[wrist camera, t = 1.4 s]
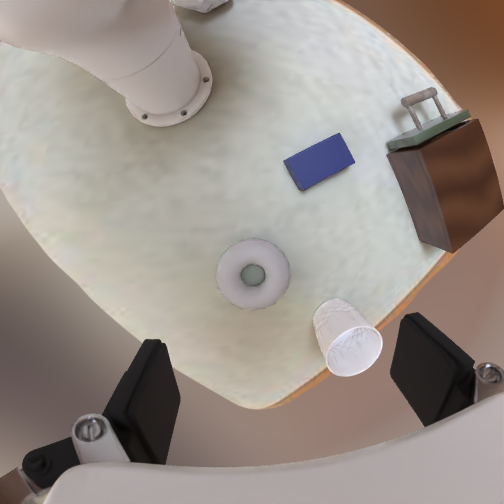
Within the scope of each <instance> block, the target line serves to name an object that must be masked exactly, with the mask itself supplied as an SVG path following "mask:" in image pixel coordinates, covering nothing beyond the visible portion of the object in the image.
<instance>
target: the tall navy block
mask: <svg viewBox="0 0 504 504" xmlns="http://www.w3.org/2000/svg"><path fill="white" fill-rule="evenodd" d="M283 162H284V163H285V165H286V167H287V169H288V171H289V172H290V174H291V176H292V178H293V180H294V181H295V183H296V185H297V187H298V189H299V190H305V189H307V188H309V187H311V186H312V185H314V184H316V183H318V182H320V181H322V180H324V179H325V178H327V177H329V176H331V175H333V174H335V173H337V172H339V171H340V170H342V169H344V168H346V167H348V166H350V165H352V164H354V163H355V161H354V159H353V157H352V155H351V153H350V151H349V149H348V147H347V145H346V144H345V142H344V140H343V138H342V136H341V134H340V133H338V134H336V135H333V136H331V137H329V138H327V139H325V140H323V141H321V142H319V143H317V144H315V145H313V146H311V147H309V148H307V149H305V150H303V151H301V152H299V153H297V154H295V155H294V156H292V157H290V158H288V159H286V160H284V161H283Z"/></svg>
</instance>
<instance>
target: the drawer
mask: <svg viewBox="0 0 504 504" xmlns="http://www.w3.org/2000/svg"><path fill="white" fill-rule="evenodd" d="M436 95H437V91H436V89H435V88H433V87H431V88H428V89H426V90H423V91H420V92H417V93H415V94H412V95H410V96H407V97H404V98H402V99H401V103H402V105H403V106H404V107H407V109H408V111H409V113H410V115H411V117H412V119H413V121H414V123H415V125H416V127H417V128H415V129H413V130H411V131H409V132H407V133H405V134H403V135H401V136H398V137H396V138H394V139H392V140H390V141H388V142H387V143H388V145H389V147H390V149H396V148H402V147H408V146H414V145H418V144H420V143H422V142H424V141H425V140H427V139H429V138H431V137H433V136H435V135H437V134H439V133H441V132H443V131H445V130H447V129H448V128H450V127H452V126H454V125H456V124H458V123H460V122H462V121H464V120H466V119H468V118H470V117H471V116H470V113H469V111H468V110H464V111H459V112H455V113H451V114H447V115H446V114H445V112H444V110H443V108H442V106H441V104H440V102H439V100H438V98H437V96H436ZM429 98H433V100H434V102H435V104H436V106H437V108H438V110H439V112H440V114H441V116H440V117H438V118H436V119H434V120H432V121H430V122H427V123H425V124H423V125H421V124H420V122H419V120H418V118H417V116H416V114H415V112H414V110H413V108H412V105H414V104H417V103H419V102H422V101H424V100H427V99H429ZM451 131H453V130H451ZM451 131H446V132H444V133H442V134H440V135H439V136H437V137H435V138H433V139H431V140H429V141H427V142H425V143H423V144H421V145H420V146H418V147H416V148H414V149H417V148H421V147H423V146H425V145H427V144H429V143H431V142H432V141H434V140H436V139H438V138H440V137H442V136H444V135H445V134H447V133H449V132H451Z"/></svg>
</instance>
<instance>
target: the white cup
mask: <svg viewBox="0 0 504 504" xmlns="http://www.w3.org/2000/svg"><path fill="white" fill-rule="evenodd" d="M313 325H314V329H315V332H316V336H317V339H318V342H319V346H320V348H321V351H322V354H323V356H324V359H325V362H326V365H327V367H328V369H329V370H330V371H331V372H332V373H334V374H335V375H338V376H353V375H356V374H359V373H361V372H363V371H365V370H366V369H368V368H369V367H370V366H371V365H372V364H373V363H374V362H375V361H376V360H377V358H378V357H379V355H380V352H381V350H382V344H383V342H382V337H381V334H380V333H379V332H378V331H377V329H376V328H375V327H374V326H373V325H372V324H371V323H370V322H369V321H368V320H367V319H366V318H365V317H364V316H363V315H362V314H360V313H359V312H358V311H357V310H356V309H355V308H353V307H352V306H351V305H350V304H349V303H348V302H347V301H344V300H342V299H330V300H328V301H326V302H325V303H323V304H321V305H320V307H319V308H318V309H317V310H316V311H315V314H314V317H313Z"/></svg>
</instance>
